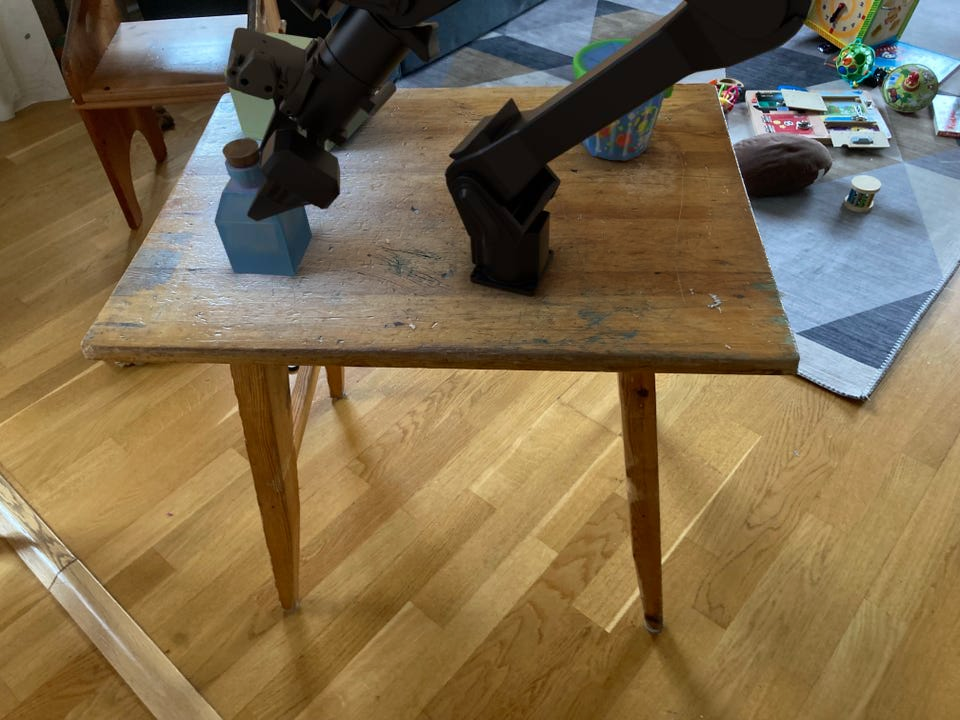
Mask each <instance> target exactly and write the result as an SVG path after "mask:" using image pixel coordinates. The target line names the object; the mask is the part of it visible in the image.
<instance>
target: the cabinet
mask: <svg viewBox="0 0 960 720" xmlns="http://www.w3.org/2000/svg"><path fill="white" fill-rule="evenodd" d="M265 34H266V35H269V36H272V37H275V38H278V39H281V40H284V41H286V42H288V43H290V44H292V45H294V46H297V47H299V48H302V49H305V48H306V47H307V46H308V44H309V43H310V42H311V40H312V39H315V40H317V38H311V37H306V36H300V35H299V36H298V35H291V34H284V33H277V32H271V31H268V32H267V33H265ZM227 66H228V64H226V65H225V66H224V67H223V68H222V71H223V75H224V78H225V77H226V72H227ZM228 90H229V93H230V96H231V100H232V103H233V106H234V109H235V113H236V116H237V120H238V122H239V126H240V129H241V131H242V136H243V138H248V139H253V140H258V141H259V140H260V141H262V139H263V137H264V134H265V132H266V129H267V127H268V124H269V122H270V119H271V116H272V114H273V111H274V109H275V105H274V101H273V99H270V100H264V99H261V98H258V97H254V96H251V95H247V94H244V93H242V92H239V91H236V90H233V89H231V88H230V87H228ZM335 146H336V144H333V142H331V141H330V140H328V139H327V141H325V150H326V151H328V152H329V153H330V151H331V150H332V149H333V148H334V147H335Z"/></svg>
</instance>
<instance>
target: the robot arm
mask: <svg viewBox="0 0 960 720" xmlns="http://www.w3.org/2000/svg"><path fill="white" fill-rule="evenodd" d="M290 1H291V2H292V3H293V4H294V5H295V6H296V7H297V8H298V9H299V10H300V11H301V12H302V13H303V14H304V15H305V16H306V17H307V18H308V19H309V20H311V22H314V21H315V20H316V19H317V18H318V17H319V16H320V14H322V15H323V16H324V17H325V18H326V19H327V20H329V19H332V18H334V17H335V16H336V15H338V14H339V13H340V12H341V11H342V10H344V7H345V6H347V7H346V8H345V10H344V11H343V13H342V14H341V16H340V17H339V18H338V20H337V21H336V22H335V24H334V26H333V27H332V28H331V29H330V31H329V32H328V34H327V35H326V36H325V38H324V39H323V38H322V37H320V36H318V37H317V38H313V39H312V40H311V42H310V43H309V44H308V46H307V47H306V48H305V49H302V48H299V47H297V46H294V45H292V44H290V43H288V42H286V41H284V40H281V39H278V38H275V37H272V36H269V35H266V34H267V33H262V32H259V31H256V30H253V29H250V28H247V27H236V28H235V29H234V31H233V35H232V38H231V39H232V40H231V44H230V49H229V55H228V60H227V65H228V66H227V65H226V66H227V72H226V77H225V76H224V78H225V79H224V83H225V85H226V86H227V87H228V88H229V87H230V88H231V89H233V90H236V91H239V92H242V93H244V94H247V95H251V96H254V97H258V98H261V99H264V100H270V99H273V101H274V105H275V109H274V111H273V114H272V116H271V119H270V122H269V124H268V127H267V129H266V132H265V134H264V137H263V139H262V140H261V142H260V145H259V152H261V159H260V170H261V172H262V174H263V175H264V176H265V177H264V179H263V181H262V183H261V185H260V187H259V189H258V191H257V193H256V195H255V197H254V199H253V201H252V204H251V206H250V208H249V210H248V212H247V216H248V217H249V218H251V219H253V220H255V221H260V220H263V219H266V218H269V217H272V216H275V215H277V214H280V213H283V212H286V211H289V210H292V209H295V208H299V207H303V206H305V207H306V206H311V205H312V206H314V207H317V208H319V209H320V210H328V209H329V208H330V206H331V205H332V204H333V203H334V202H335V201H336V200H337V198H338V197H339V196H340V195H341V167H340V163H339V158H338V157H337V156H336V155H334V154H332V153H331V152H330V151H329V152H328V151H326V150H325V141H327V139H328V140H330V141H331V142H333V143H335V146H337V147H339V148H341V147H343V145H344V144H345V143H346V142H347V140H348V139H347V127H348V126H349V125H350V124H351V122H352V121H353V120H354V119H355V118H356V116H357V115H358V114H359V113H360V111H361V110H362V109H363V110H365V111H366V112H368V113H369V112H370V111H371V110H372V109H373V108H374V106H375V105H376V98H375V95H376V93H377V92H378V89H379V88H380V87H381V86H382V84H383V85H384V83H385V82H387V80H388V78H389V77H390V76H391V75H392V74H393V72H394V71H395V70H396V68H398V66H399V65H400V63H402V61H403V60H405V58H406V56H407V55H408V54H409V53H410V51H411V52H413V53H414V55H416V57H417V58H418V59H419V60H420V61H421V62H422V63H428V62H430V61H432V60H434V59H435V58H437V57H439V56H440V54H441V49H440V43H439V42H440V41H439V37H438V35H439V34H438V33H439V27H440V26H439V23H438V22H437V21H433V22H425V21H427V20H429V19H431V18H433V17H435V16H437V15H439V14H441V13H442V12H444V11H445V10H448V9H449V8H451V7H452V6H454V5H456V4H457V3H459V2H460V1H461V0H290ZM815 2H816V0H682V1H680V3H678V5H677V6H676V7H675V8H674V9H673V10H671V11H670V12H668V13H667V14H666V15H664V16H663V17H662V18H660V19H658V20H657V21H656V22H655V23H653V24H651V25H650V26H649V27H647V28H646V29H645V30H644V31H642V32H640V33H639V34H638V35H637V36H635V37H634V38H631V39H632V40H631V41H630V42H628V43H627V44H625V45H624V46H623V47H621V48H620V49H618V50H617V51H616V52H614V53H613V54H611V55H610V56H609V57H607V58H606V59H604V60H603V61H602V62H600V63H599V64H597V65H596V66H595V67H593V68H592V69H590V70H589V71H588V72H586V73H585V74H583V75H582V76H581V77H579V78H578V79H576V78H575V80H573V81H572V82H571V83H569V84H567V86H565V87H563V89H561V90H560V91H558V92H557V93H555V94H554V95H552V96H551V97H550V98H548V99H546V100H545V101H544V102H543V103H541V104H540V105H539V106H537V107H535V108H533V109H527V110H520V108H519V107H518V105H517V104H516V101H515V100H514V98H512V97H510V98H509V99H508V101H507V102H506V103H504V105H503V106H502V107H500V109H499V110H498V111H497V112H496V113H494V114H491V115H486V116H485V115H484V117H483V118H482V119H481V120H480V121H479V122H478V123H477V124H475V126H474V127H473V128H472V129H471V131H470V132H468V134H467V135H466V136H465V137H464V138H463V139H462V140H461V141H459V143H458V144H457V145H456V147H455V148H454V149H453V150H451V152H450V153H449V154H448V156H449V158H450V159H452V160H453V161H451V162H450V164H449V165H448V166H447V167H446V169H445V171H444V177H445V184H446V187H447V190H448V193H449V194H450V196H451V198H452V201H453V203H454V206H455V208H456V210H457V213H458V215H459V217H460V220H461V222H462V225H463V227H464V229H465V231H466V234H467V236H468V237H469V242H470V259H471V263H472V265H473V266H474V268H473V270H472V272H471V273H470V275H469V280H470V281H469V282H471V283H473V284H478V285H481V286H485V287H489V288H494V289H498V290H502V291H507V292H512V293H516V294H519V295H524V296H529V297H533V296H535V295H536V294H537V292H538V290H539V287H540V286H541V283H542V282H543V279H544V278H545V275H546V273H547V271H548V269H549V267H550V265H551V263H552V261H553V259H554V256H555V252H554V250H553V249H550V223H551V212H550V211H548V210H544V209H545V208H546V207H547V205H548V204H549V202H550V201H551V200H553V198H554V197H555V195H556V193H557V192H558V189H559V187H560V185H561V183H562V182H561V179H560V178H559V177H558V175H557V174H556V173H555V171H553V170H552V168H551V166H549V165H548V164H549V163H551V162H552V161H554V160H555V159H557V158H559V157H560V156H562V155H564V154H565V153H567V152H568V151H569V150H571V149H573V148H574V147H576V146H579V144H581V143H583V141H584V140H586V139H587V138H589V137H590V136H592V135H594V134H595V133H597V132H598V131H600V130H602V129H603V128H605V127H607V126H608V125H610V124H611V123H613V122H615V121H616V120H618V119H619V118H621V117H623V116H624V115H626V114H627V113H629V112H631V111H632V110H634V109H635V108H637V107H639V106H640V105H642V104H643V103H645V102H647V101H648V100H650V99H651V98H653V97H655V96H656V95H658V94H659V93H661V92H663V91H664V90H666V89H667V88H669V87H671V86H672V85H674V86H675V84H677V83H679V82H680V81H682V80H684V79H685V78H687V77H689V76H691V75H693V74H696V73H702V72H709V71H715V70H721V69H727V68H731V67H733V66H736V65H739V64H742V63H743V62H746V61H748V60H751V59H753V58H756V57H758V56H761V55H764V54H766V53H767V54H768V53H769V52H771V51H775V50H776V49H778V48H781V47H783V46H784V45H785V44H786V43H788V42H789V41H790V40H791V39H793V38H794V37H795V36H797V34H798V33H799V31H800V30H801V29H802V27H803V26H804V25H805V22H806V21H807V18H808V17H809V15H810V13H811V11H812V9H813V6H814V4H815ZM315 39H317V40H315Z"/></svg>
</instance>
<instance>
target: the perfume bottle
mask: <svg viewBox="0 0 960 720" xmlns="http://www.w3.org/2000/svg"><path fill="white" fill-rule="evenodd" d="M259 147H260V145H259V142H258V141H257V140H256V139H253V138H248V137H243V138H242V137H241V138H238V139H234V140H231V141H229V142H228V143H226V144H225V145H224V146H223V148H222V151H221V152H222V154H223V156H224V157H225V160H224V166H225V170H226V172H227V175H228V176H229V177H230V179H229V180H228V182H226V185H225V186H224V188H223V190H222V191H221V195H220V198H219V202H218V206H217V210H216V213H215V216H214V217H215V218H214V224H215V227H216V229H217V232H218V235H219V238H220V240H221V244H222V246H223V249H224V251H225V253H226V257H227V259H228V261H229V264H230V266H231V269H232V272H233V273H234V274H252V275H267V276H270V275H271V276H287V277H295V276H296V274H297V272H298V270H299V267H300V265H301V263H302V260H303V258H304V256H305V254H306V252H307V250H308V247H309V244H310V242H311V241H312V238H313V234H312V233H313V232H312V230H311V229H312V228H311V225H310V221H309V218H308V217H309V216H308V215H307V214H308V213H307V211H306V206H303V207H299V208H295V209H292V210H289V211H286V212H283V213H280V214H277V215H275V216H272V217H269V218H266V219H263V220H260V221H255V220H253V219H251V218H249V217H248V216H247V212H248V210H249V208H250V206H251V204H252V201H253V199H254V197H255V195H256V193H257V191H258V189H259V187H260V185H261V183H262V181H263V179H264V177H265V176H264V175H263V174H262V172H261V170H260V159H261V152H259Z"/></svg>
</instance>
